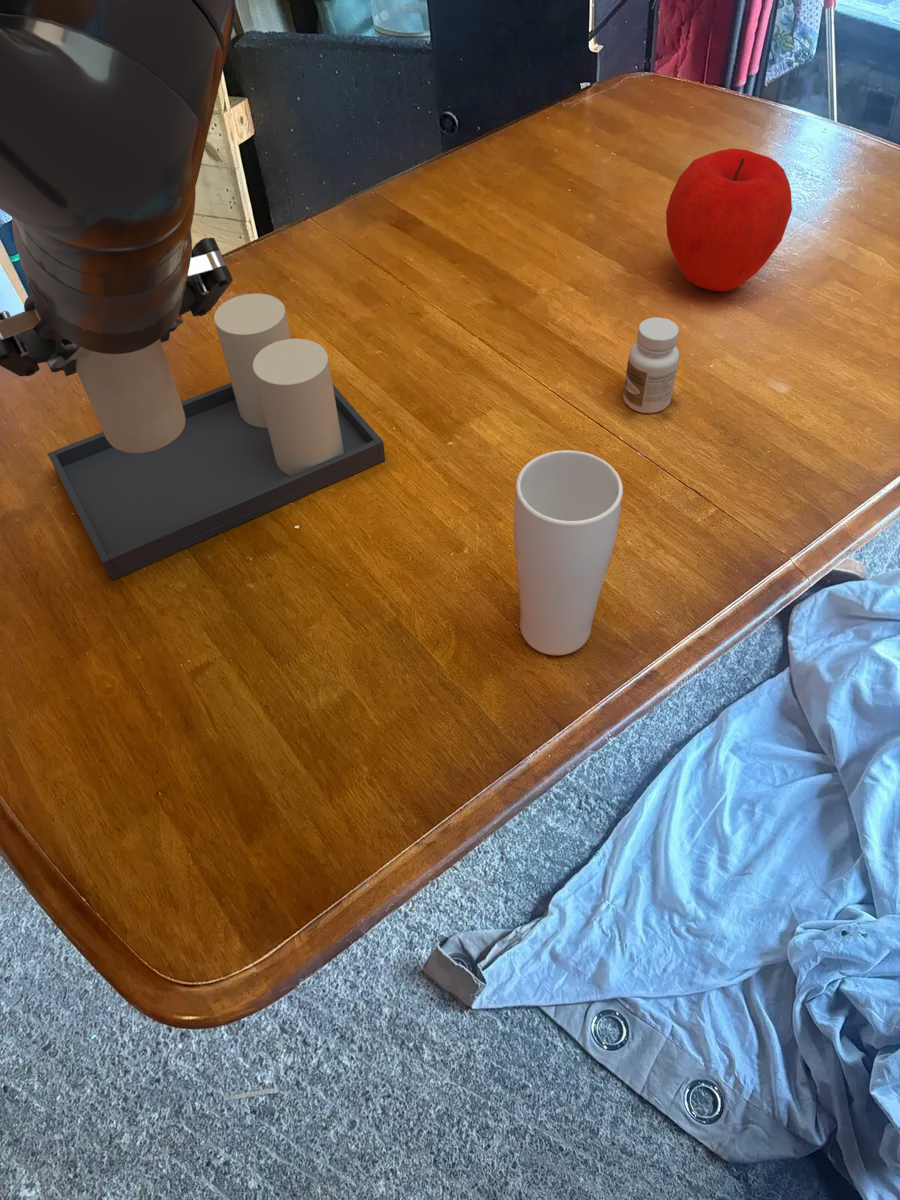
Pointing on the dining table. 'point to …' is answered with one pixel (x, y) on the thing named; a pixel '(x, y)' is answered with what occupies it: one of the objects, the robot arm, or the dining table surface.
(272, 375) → the ivory candle
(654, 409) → the pill bottle
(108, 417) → the candle
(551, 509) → the drinking glass
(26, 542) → the dining table surface
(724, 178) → the apple
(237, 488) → the tray
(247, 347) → the ivory candle
